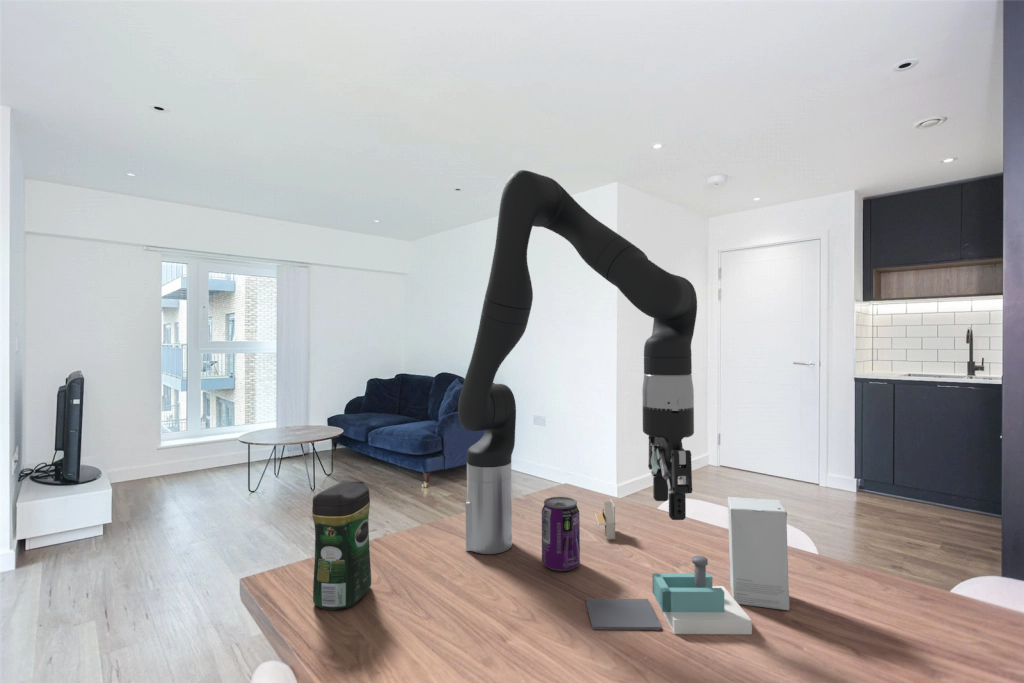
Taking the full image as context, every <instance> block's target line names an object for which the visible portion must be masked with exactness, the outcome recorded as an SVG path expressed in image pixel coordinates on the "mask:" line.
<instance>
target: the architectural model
mask: <svg viewBox="0 0 1024 683" xmlns="http://www.w3.org/2000/svg"><path fill="white" fill-rule="evenodd" d="M603 505H604V507H603V509H602V512H595V513H594V515H595V518H596V520H597V521H596V522H597V525H598V526H604V531H605V532H604V533H605V537H606V538H605V539H614V540H616V505H615V503H614V502H613V500H612V498H611V497H609V500H604V501H603Z"/></svg>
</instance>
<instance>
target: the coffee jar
mask: <svg viewBox="0 0 1024 683" xmlns="http://www.w3.org/2000/svg"><path fill="white" fill-rule="evenodd" d="M370 507H371V498H370V489H369V487H368V485H367V484H366V483H365V482H364V481H361V480H345V479H344V480H341V481H340V482H338V483H335V484H334V485H332V486H329V487H328V488H326V489H324V490H322V491H321V492H318V493H317V494H316V495H314V496H313V497H312V510H311V511H312V512H311V515H312V520H313V523H314V524H313V525H314V533H315V534H314V538H315V539H314V567H313V568H314V569H313V585H312V586H313V587H312V589H313V590H312V602H313V605H315V606H317V607H319V608H321V609H324V610H328V611H329V610H331V611H334V610H335V611H337V610H340V609H341V610H342V609H347V608H352V606H354V605H356V604H357V603H358V602H359V601H361V600H362V598H363V597H364V596H365V595H366V594H367V592H368V591H369V589H370V588H371V586H372V567H371V554H370V553H371V552H370V531H369V529H370V528H369V526H370V525H369V521H370V520H369V519H370V518H369V515H370Z"/></svg>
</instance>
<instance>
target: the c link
mask: <svg viewBox="0 0 1024 683" xmlns="http://www.w3.org/2000/svg"><path fill="white" fill-rule="evenodd" d="M712 586H713V576H712V574H710V573H706V588H695V573H669V572H668V573H663V572H661V573H659V572H658V573H652V594H653V596H654V598H655V600H656V602H657V604H658V606H659V605H660V606H659V608H660V607H661V608H660V609H662V610H661V611H663V612H725V609H724V591H723V590H722V588H712ZM663 612H662V613H663Z"/></svg>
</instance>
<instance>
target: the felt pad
mask: <svg viewBox="0 0 1024 683" xmlns="http://www.w3.org/2000/svg"><path fill="white" fill-rule="evenodd" d="M585 603H586V607H587V608H586V609H587V612H588V616H589V620H590V625H591V628H592V630H596V631H597V630H601V631H603V630H606V631H607V630H608V631H609V630H613V631H614V630H617V631H619V630H621V631H624V630H627V631H628V630H629V631H631V630H632V631H634V630H635V631H637V630H639V631H641V630H643V631H647V630H648V631H650V630H651V631H662V630H663V629H662V628H663V627H662V625H661V623H660V621H659V619H658V617H657V615H656V613H655V611H654V609H653V607H652V605H651V603H650V600H649V598H585Z"/></svg>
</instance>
